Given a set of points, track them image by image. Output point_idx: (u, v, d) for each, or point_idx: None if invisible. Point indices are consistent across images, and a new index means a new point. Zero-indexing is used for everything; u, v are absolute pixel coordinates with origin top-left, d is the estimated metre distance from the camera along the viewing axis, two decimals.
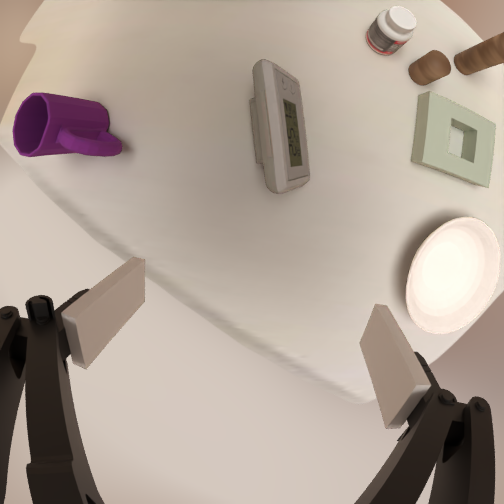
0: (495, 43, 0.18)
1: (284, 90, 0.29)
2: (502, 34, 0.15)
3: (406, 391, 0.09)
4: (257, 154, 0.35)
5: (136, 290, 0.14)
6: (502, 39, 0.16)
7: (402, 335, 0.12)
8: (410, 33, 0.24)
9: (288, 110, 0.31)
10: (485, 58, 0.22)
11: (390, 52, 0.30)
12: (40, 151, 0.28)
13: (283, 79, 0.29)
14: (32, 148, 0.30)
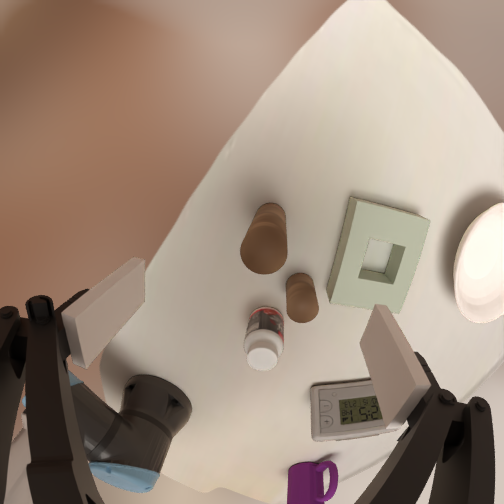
0: None
1: (333, 421, 0.40)
2: None
3: (406, 391, 0.09)
4: None
5: (136, 290, 0.15)
6: None
7: (402, 335, 0.12)
8: (273, 339, 0.36)
9: (347, 415, 0.40)
10: None
11: (283, 323, 0.42)
12: None
13: (324, 420, 0.40)
14: None
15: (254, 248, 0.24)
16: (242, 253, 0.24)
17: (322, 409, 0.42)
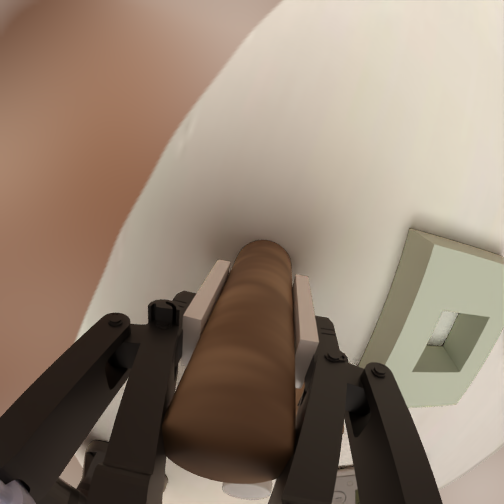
0: None
1: None
2: None
3: (296, 347, 0.11)
4: None
5: None
6: None
7: (309, 300, 0.14)
8: None
9: None
10: None
11: None
12: None
13: None
14: None
15: (196, 448, 0.06)
16: (165, 449, 0.07)
17: (333, 502, 0.24)
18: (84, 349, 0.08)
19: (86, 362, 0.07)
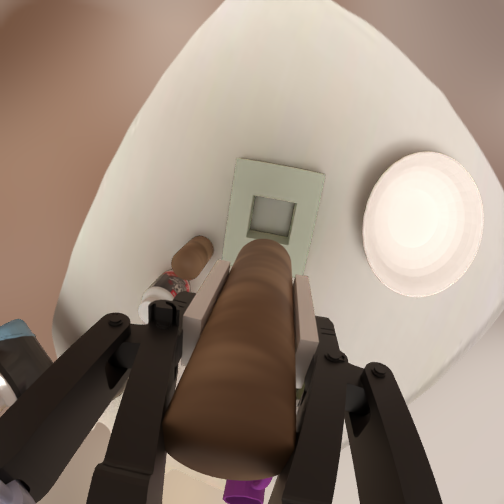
0: None
1: None
2: None
3: (296, 347, 0.11)
4: None
5: None
6: None
7: (309, 300, 0.14)
8: (163, 296, 0.37)
9: None
10: None
11: (186, 286, 0.43)
12: (262, 498, 0.45)
13: None
14: None
15: (197, 444, 0.07)
16: (166, 445, 0.07)
17: None
18: (84, 349, 0.08)
19: (86, 362, 0.07)
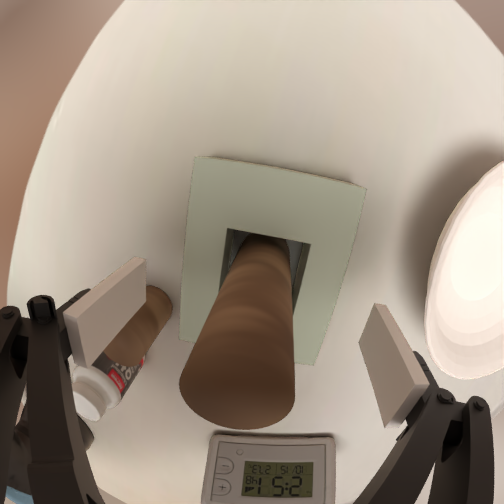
0: None
1: (232, 488, 0.24)
2: None
3: (405, 390, 0.09)
4: None
5: (137, 290, 0.15)
6: None
7: (401, 334, 0.12)
8: (97, 381, 0.20)
9: (253, 484, 0.25)
10: None
11: None
12: None
13: (219, 485, 0.25)
14: None
15: (213, 388, 0.09)
16: (185, 393, 0.09)
17: (219, 469, 0.26)
18: None
19: None
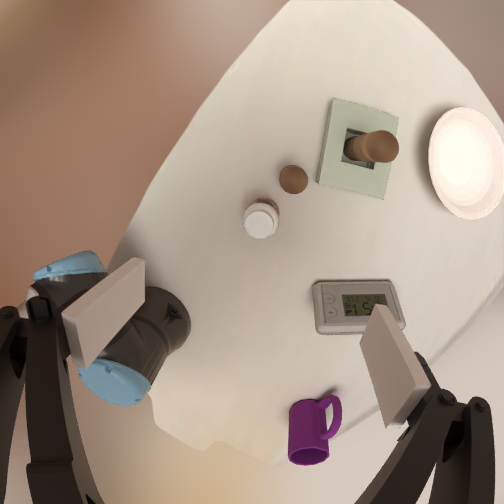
0: None
1: (337, 312, 0.45)
2: (374, 159, 0.30)
3: (406, 391, 0.09)
4: None
5: (136, 290, 0.14)
6: (381, 162, 0.30)
7: (402, 335, 0.12)
8: (269, 210, 0.41)
9: (351, 308, 0.45)
10: None
11: (278, 210, 0.47)
12: (328, 449, 0.49)
13: (328, 311, 0.45)
14: (320, 452, 0.52)
15: (378, 143, 0.29)
16: (369, 145, 0.30)
17: (325, 301, 0.47)
18: None
19: None
